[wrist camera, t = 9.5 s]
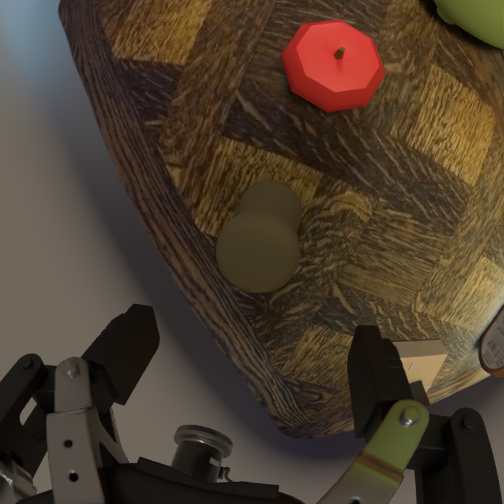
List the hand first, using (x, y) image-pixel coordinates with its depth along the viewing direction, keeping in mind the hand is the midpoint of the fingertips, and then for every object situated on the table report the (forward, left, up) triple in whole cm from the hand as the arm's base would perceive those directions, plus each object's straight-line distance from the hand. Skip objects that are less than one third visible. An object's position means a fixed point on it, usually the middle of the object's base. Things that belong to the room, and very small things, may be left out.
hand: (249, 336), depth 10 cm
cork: (0, +1, -17) cm, 17 cm away
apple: (+13, -4, -17) cm, 22 cm away
